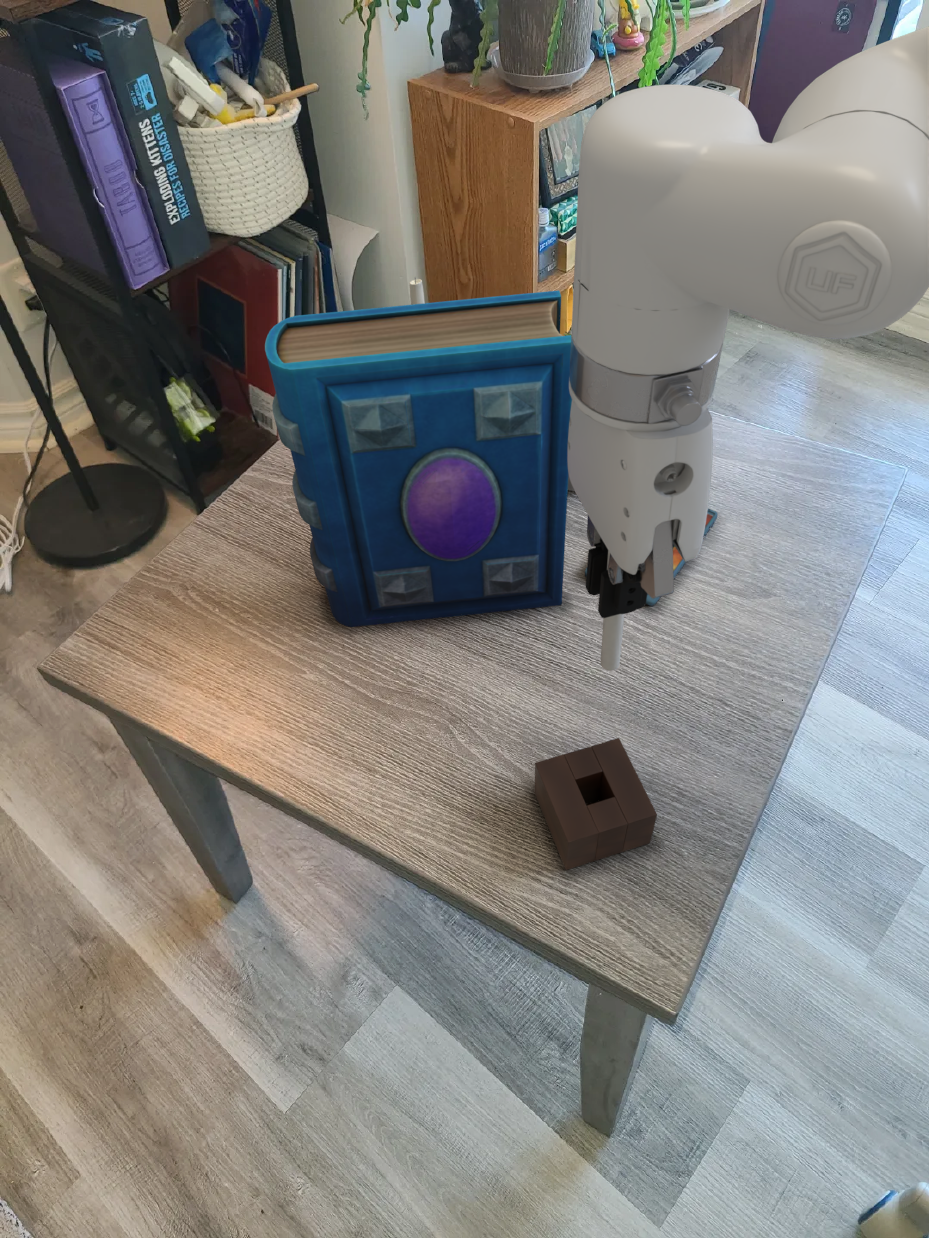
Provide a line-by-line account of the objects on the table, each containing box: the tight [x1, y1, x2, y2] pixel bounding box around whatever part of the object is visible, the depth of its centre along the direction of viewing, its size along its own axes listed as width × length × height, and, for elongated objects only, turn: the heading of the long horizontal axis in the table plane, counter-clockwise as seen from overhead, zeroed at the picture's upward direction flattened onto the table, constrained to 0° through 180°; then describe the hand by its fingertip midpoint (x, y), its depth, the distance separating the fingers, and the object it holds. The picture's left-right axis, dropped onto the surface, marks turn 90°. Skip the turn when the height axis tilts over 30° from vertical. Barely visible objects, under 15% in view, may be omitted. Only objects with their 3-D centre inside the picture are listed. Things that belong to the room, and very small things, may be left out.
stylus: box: [599, 550, 625, 672], centre depth 61 cm, size 1×2×13 cm
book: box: [264, 289, 572, 628], centre depth 80 cm, size 24×9×30 cm, turn 95°
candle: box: [409, 276, 426, 305], centre depth 108 cm, size 5×5×16 cm
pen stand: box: [533, 737, 658, 871], centre depth 73 cm, size 7×7×5 cm
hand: (615, 597), depth 60 cm, fingers closed on stylus, 1 cm apart
